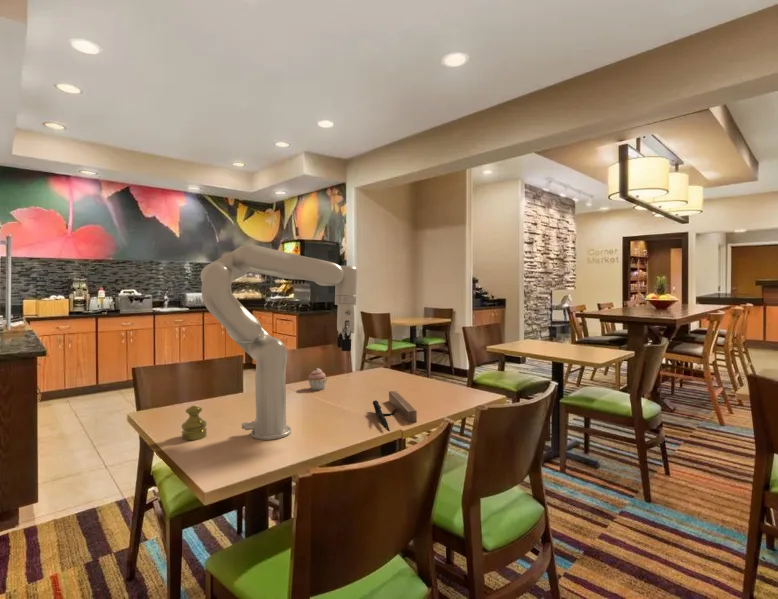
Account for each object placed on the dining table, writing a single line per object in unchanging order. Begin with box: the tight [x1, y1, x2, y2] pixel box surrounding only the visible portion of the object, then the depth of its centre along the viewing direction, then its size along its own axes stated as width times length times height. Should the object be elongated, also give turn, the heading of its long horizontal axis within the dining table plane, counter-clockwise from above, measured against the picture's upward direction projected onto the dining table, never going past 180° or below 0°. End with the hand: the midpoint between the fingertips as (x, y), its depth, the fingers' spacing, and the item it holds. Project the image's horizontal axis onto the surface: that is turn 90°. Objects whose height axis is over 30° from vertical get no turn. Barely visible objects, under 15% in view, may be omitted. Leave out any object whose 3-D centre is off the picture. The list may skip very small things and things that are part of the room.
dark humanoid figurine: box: [372, 399, 397, 432], centre depth 159 cm, size 8×9×25 cm
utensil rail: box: [388, 390, 418, 424], centre depth 170 cm, size 3×30×4 cm, turn 13°
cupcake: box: [307, 367, 328, 391], centre depth 206 cm, size 9×9×10 cm
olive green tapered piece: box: [181, 404, 208, 441], centre depth 142 cm, size 7×7×10 cm
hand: (343, 349), depth 157 cm, fingers open, 9 cm apart
